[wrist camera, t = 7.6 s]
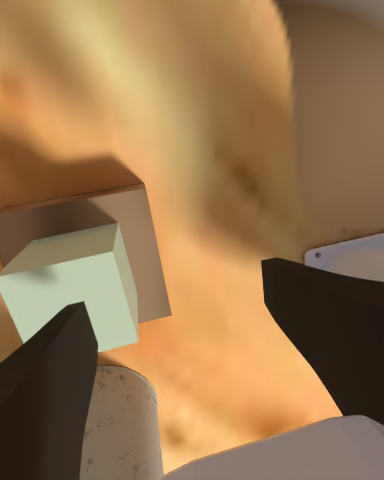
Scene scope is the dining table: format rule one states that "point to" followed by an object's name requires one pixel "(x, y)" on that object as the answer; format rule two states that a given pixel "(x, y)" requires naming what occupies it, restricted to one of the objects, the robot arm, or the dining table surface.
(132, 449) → the grey cylinder
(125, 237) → the walnut slab
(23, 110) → the dining table surface
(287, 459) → the robot arm
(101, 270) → the sage cube
